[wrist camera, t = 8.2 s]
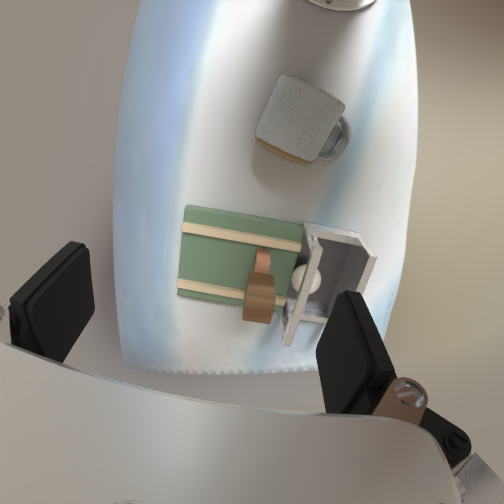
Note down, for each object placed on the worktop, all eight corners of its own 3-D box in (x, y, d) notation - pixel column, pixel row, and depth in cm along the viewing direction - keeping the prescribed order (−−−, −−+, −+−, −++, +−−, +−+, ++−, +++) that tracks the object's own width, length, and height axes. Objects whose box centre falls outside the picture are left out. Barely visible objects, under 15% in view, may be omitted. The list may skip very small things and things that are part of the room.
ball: (326, 277, 38) (323, 262, 41) (295, 270, 38) (295, 256, 41) (317, 303, 39) (315, 287, 43) (287, 297, 40) (288, 281, 43)
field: (187, 204, 39) (183, 210, 36) (302, 225, 40) (305, 232, 37) (179, 289, 44) (176, 297, 42) (280, 306, 45) (281, 315, 43)
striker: (251, 247, 39) (249, 285, 31) (275, 251, 39) (279, 290, 31) (243, 286, 42) (240, 330, 34) (265, 290, 42) (266, 334, 34)
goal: (303, 220, 39) (313, 247, 32) (360, 232, 40) (380, 260, 33) (278, 309, 45) (281, 346, 38) (329, 316, 46) (339, 352, 39)
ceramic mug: (250, 137, 35) (250, 145, 28) (278, 76, 31) (284, 68, 24) (329, 172, 37) (347, 189, 30) (357, 115, 33) (381, 119, 26)
